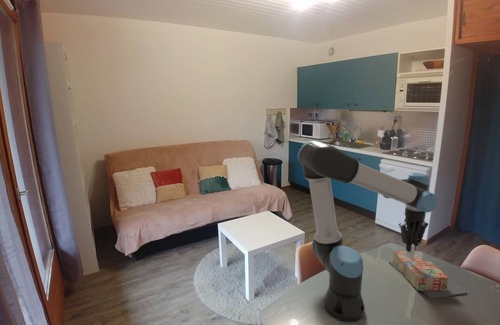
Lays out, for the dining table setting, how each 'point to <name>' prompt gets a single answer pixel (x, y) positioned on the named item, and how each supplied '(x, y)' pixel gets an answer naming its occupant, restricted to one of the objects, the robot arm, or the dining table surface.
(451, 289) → the mat
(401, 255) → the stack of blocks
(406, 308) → the dining table surface
